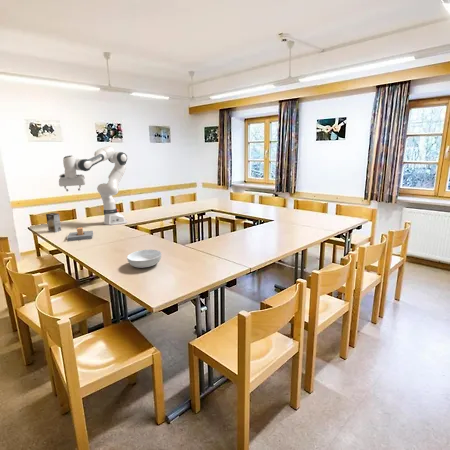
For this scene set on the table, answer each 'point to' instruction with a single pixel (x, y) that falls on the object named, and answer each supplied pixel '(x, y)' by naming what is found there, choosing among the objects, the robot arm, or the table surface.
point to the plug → (80, 231)
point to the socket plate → (80, 236)
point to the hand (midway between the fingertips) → (73, 190)
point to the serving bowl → (144, 258)
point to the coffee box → (53, 222)
